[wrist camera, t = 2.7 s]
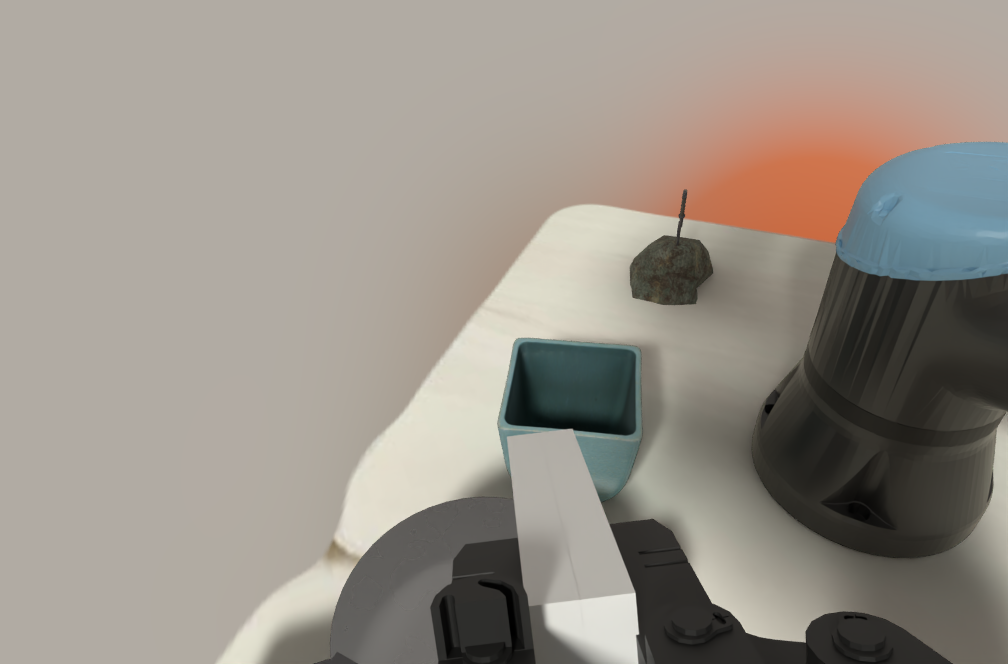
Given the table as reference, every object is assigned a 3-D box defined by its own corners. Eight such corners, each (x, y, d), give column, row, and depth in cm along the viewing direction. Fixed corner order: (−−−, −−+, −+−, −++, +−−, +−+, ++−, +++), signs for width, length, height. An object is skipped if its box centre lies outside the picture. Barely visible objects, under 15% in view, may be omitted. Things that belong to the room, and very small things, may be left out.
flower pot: (631, 433, 54) (641, 343, 48) (630, 530, 47) (643, 440, 41) (517, 423, 55) (514, 335, 49) (501, 517, 48) (495, 428, 43)
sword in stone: (641, 244, 75) (658, 138, 67) (716, 261, 72) (743, 153, 64) (615, 298, 67) (631, 186, 60) (698, 318, 65) (725, 204, 57)
